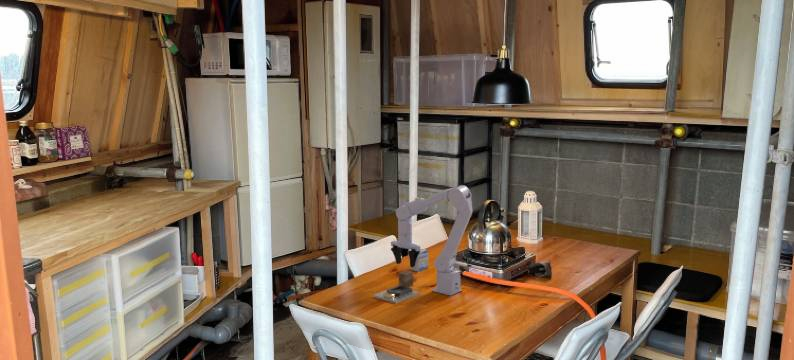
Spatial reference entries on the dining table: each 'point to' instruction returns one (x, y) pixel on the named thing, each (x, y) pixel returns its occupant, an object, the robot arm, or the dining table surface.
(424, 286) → the dining table surface
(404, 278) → the walnut wedge block
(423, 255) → the medicine box
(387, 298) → the steel rosette plate
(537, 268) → the caster wheel
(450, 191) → the robot arm
